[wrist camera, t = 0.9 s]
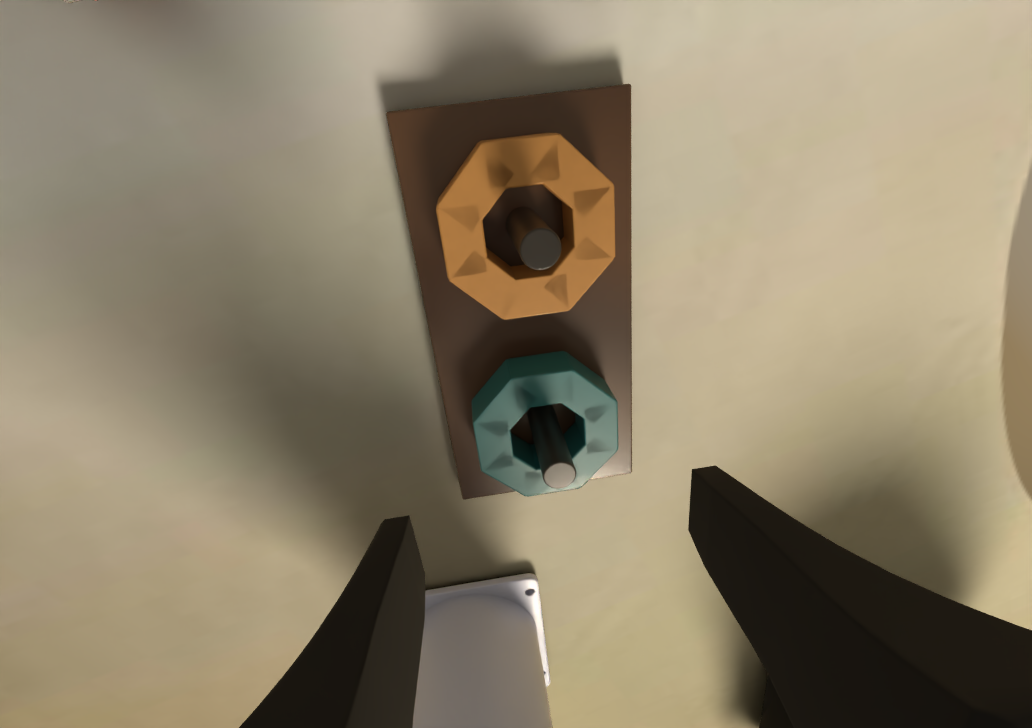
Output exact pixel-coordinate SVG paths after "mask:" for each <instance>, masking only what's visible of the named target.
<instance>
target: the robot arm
mask: <svg viewBox="0 0 1032 728" xmlns="http://www.w3.org/2000/svg"><path fill="white" fill-rule="evenodd" d="M688 530H689V532H690V534H691V537H692V539H693V541H694V544H695V546H696V548H697V551H698V553H699V555H700V557H701V559H702V562H703V564H704V566H705V568H706V570H707V571H708V573H709V575H710V576H711V578H712V580H713V582H714V583H715V585H716V587H717V588H718V590H719V592H720V593H721V595H722V597H723V598H724V600H725V602H726V603H727V605H728V607H729V608H730V610H731V612H732V613H733V615H734V617H735V618H736V620H737V622H738V623H739V625H740V627H741V628H742V630H743V632H744V633H745V635H746V636H747V638H748V640H749V641H750V643H751V645H752V646H753V648H754V650H755V651H756V653H757V655H758V657H759V659H760V660H761V662H762V664H763V666H764V668H765V670H766V671H767V673H768V675H769V677H770V680H771V682H772V684H773V686H774V688H775V690H776V692H777V694H778V696H779V698H780V700H781V702H782V704H783V706H784V708H785V710H786V712H787V714H788V717H789V719H790V721H791V723H792V725H793V727H794V728H1032V630H1029V629H1026V628H1023V627H1020V626H1017V625H1015V624H1012V623H1009V622H1007V621H1004V620H1001V619H999V618H996V617H994V616H991V615H988V614H986V613H983V612H980V611H978V610H975V609H973V608H970V607H968V606H965V605H963V604H960V603H958V602H955V601H953V600H951V599H948V598H946V597H943V596H941V595H939V594H937V593H934V592H932V591H930V590H928V589H925V588H923V587H921V586H919V585H916V584H914V583H912V582H910V581H907V580H905V579H903V578H901V577H899V576H897V575H895V574H893V573H891V572H888V571H886V570H884V569H883V568H881V567H879V566H877V565H875V564H873V563H871V562H869V561H867V560H865V559H863V558H861V557H859V556H857V555H855V554H853V553H852V552H850V551H848V550H846V549H844V548H842V547H841V546H839V545H837V544H835V543H834V542H832V541H830V540H829V539H827V538H825V537H823V536H822V535H820V534H818V533H817V532H815V531H813V530H812V529H810V528H808V527H807V526H805V525H803V524H802V523H800V522H799V521H797V520H795V519H794V518H792V517H791V516H789V515H788V514H786V513H785V512H783V511H782V510H780V509H778V508H777V507H775V506H774V505H772V504H771V503H769V502H768V501H766V500H765V499H763V498H762V497H761V496H759V495H758V494H756V493H755V492H753V491H752V490H750V489H749V488H747V487H746V486H745V485H743V484H742V483H740V482H739V481H737V480H736V479H734V478H733V477H731V476H730V475H729V474H727V473H726V472H724V471H723V470H721V469H720V468H718V467H717V466H710V467H704V468H698V469H692V478H691V495H690V512H689V528H688ZM549 684H550V674H549V666H548V658H547V650H546V642H545V634H544V625H543V617H542V609H541V601H540V593H539V585H538V579H537V576H536V575H534V574H532V573H526V574H520V575H514V576H508V577H502V578H496V579H490V580H484V581H478V582H473V583H467V584H461V585H455V586H449V587H443V588H437V589H431V590H425V571H424V568H423V564H422V560H421V557H420V553H419V549H418V546H417V542H416V538H415V534H414V531H413V527H412V523H411V520H410V516H409V515H408V516H402V517H396V518H390V519H385V520H384V521H383V522H382V523H381V525H380V527H379V529H378V531H377V533H376V535H375V536H374V538H373V540H372V542H371V544H370V546H369V548H368V550H367V551H366V553H365V555H364V557H363V559H362V560H361V562H360V564H359V566H358V567H357V569H356V571H355V572H354V574H353V576H352V577H351V579H350V581H349V582H348V584H347V586H346V587H345V589H344V591H343V592H342V594H341V596H340V597H339V599H338V600H337V602H336V603H335V605H334V606H333V608H332V609H331V611H330V612H329V614H328V615H327V617H326V618H325V620H324V621H323V623H322V624H321V626H320V627H319V629H318V630H317V632H316V633H315V635H314V636H313V637H312V639H311V640H310V642H309V643H308V644H307V646H306V647H305V648H304V650H303V651H302V653H301V654H300V655H299V657H298V658H297V659H296V660H295V662H294V663H293V664H292V666H291V667H290V668H289V669H288V671H287V672H286V673H285V675H284V676H283V677H282V678H281V679H280V681H279V682H278V683H277V684H276V685H275V687H274V688H273V689H272V690H271V691H270V693H269V694H268V695H267V696H266V697H265V699H264V700H263V701H262V702H261V703H260V705H259V706H258V707H257V708H256V709H255V710H254V711H253V713H252V714H251V715H250V716H249V717H248V718H247V719H246V720H245V722H244V723H243V724H242V725H241V726H240V727H239V728H553V726H552V720H551V714H550V708H549V701H548V695H547V689H546V687H547V686H548V685H549Z"/></svg>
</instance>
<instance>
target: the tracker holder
mask: <svg viewBox="0 0 1032 728" xmlns="http://www.w3.org/2000/svg"><path fill="white" fill-rule="evenodd" d="M63 1H65V2H67V3H73V2H77V1H81V0H63ZM94 1H96V0H94Z"/></svg>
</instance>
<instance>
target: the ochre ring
mask: <svg viewBox="0 0 1032 728" xmlns="http://www.w3.org/2000/svg"><path fill="white" fill-rule="evenodd" d="M540 184H542V185H543V186H544V187H545V188H547V189H548V190H549V191H550V192H551V193H552V194H553V195H555V196H556V197H557V198H558V199H559V200H560V201H561V202H562V213H563V229H564V237H563V238H562V239H561V255H560V257H559V259H558V261H557V262H556V263H555V264H554V265H553V266H552V267H550V268H548V269H545V270H534V269H531V268H529V267H528V266H526V265H518V266H509V265H508V264H507V263H505V262H504V261H503V260H502V259H500V258H499V257H498V256H496V255H495V254H494V253H492V252H491V251H490V250H489V249H487V248H486V243H485V236H484V228H483V221H482V220H483V219H484V217H485V216H486V215H487V213H488V212H489V211H490V209H491V208H492V207H493V205H494V204H495V203H496V201H497V200H498V199H499V197H500V196H501V195H502V193H503V192H504V190H505V189H508V188H516V187H524V186H532V185H540ZM436 213H437V219H438V225H439V231H440V236H441V242H442V248H443V254H444V260H445V265H446V271H447V277H448V279H449V281H450V282H451V283H453V284H454V285H456V286H457V287H458V288H460V289H461V290H463V291H464V292H465V293H467V294H468V295H469V296H471V297H472V298H474V299H475V300H476V301H478V302H479V303H481V304H482V305H483V306H485V307H486V308H488V309H489V310H490V311H492V312H493V313H495V314H496V315H497V316H499V317H500V318H502V319H504V320H507V319H514V318H521V317H528V316H535V315H542V314H549V313H557V312H564V311H569V310H570V309H571V308H572V307H573V306H574V305H575V304H576V302H577V301H578V300H579V299H580V298H581V297H582V295H583V294H584V293H585V292H586V291H587V290H588V288H589V287H590V286H591V285H592V284H593V283H594V282H595V280H596V279H597V278H598V277H599V276H600V275H601V273H602V272H603V271H604V270H605V269H606V268H607V266H608V265H609V264H610V263H611V262H612V261H613V259H614V257H615V205H614V184H613V183H612V182H611V181H610V180H609V179H608V178H607V177H606V176H605V175H604V174H603V173H602V172H601V171H599V170H598V169H597V168H596V167H595V166H594V165H593V164H592V163H591V162H590V161H589V160H588V159H587V158H586V157H584V156H583V155H582V154H581V153H580V152H579V151H578V150H577V149H576V148H575V147H574V146H573V145H572V144H571V143H570V142H568V141H567V140H566V139H565V138H564V137H563V136H562V135H561V134H559V133H541V134H532V135H524V136H516V137H507V138H499V139H491V140H482V141H480V142H478V143H477V144H476V146H475V147H474V149H473V150H472V151H471V153H470V154H469V156H468V157H467V158H466V160H465V161H464V163H463V164H462V166H461V167H460V168H459V170H458V171H457V173H456V174H455V175H454V177H453V178H452V180H451V181H450V183H449V184H448V185H447V187H446V188H445V190H444V191H443V193H442V194H441V195H440V197H439V198H438V202H437V206H436Z"/></svg>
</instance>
